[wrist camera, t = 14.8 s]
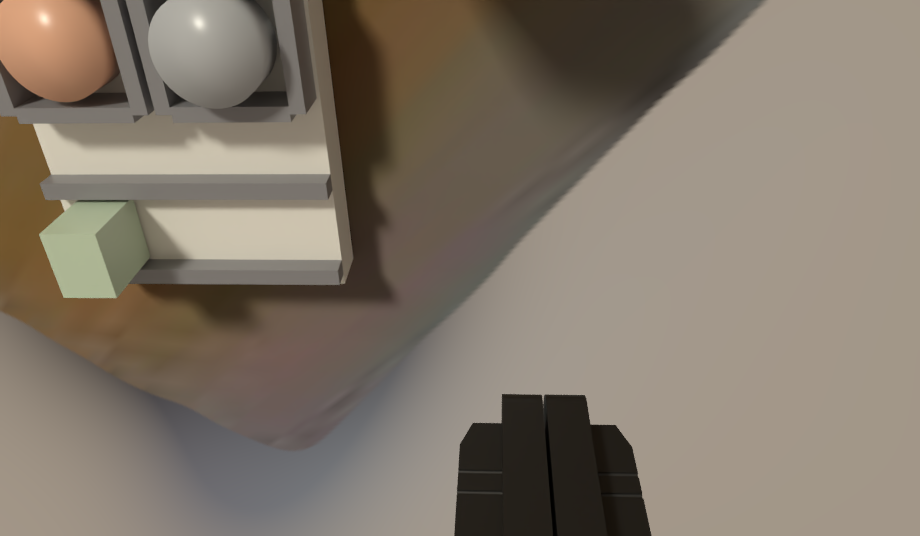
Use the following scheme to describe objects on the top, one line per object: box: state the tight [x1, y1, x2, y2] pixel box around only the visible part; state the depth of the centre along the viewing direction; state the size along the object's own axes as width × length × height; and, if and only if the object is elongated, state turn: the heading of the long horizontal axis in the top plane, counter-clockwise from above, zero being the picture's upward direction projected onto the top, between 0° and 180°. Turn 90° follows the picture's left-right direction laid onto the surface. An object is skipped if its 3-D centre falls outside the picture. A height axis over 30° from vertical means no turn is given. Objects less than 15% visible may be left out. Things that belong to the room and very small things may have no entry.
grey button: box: [148, 0, 277, 109], centre depth 33 cm, size 5×5×2 cm
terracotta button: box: [0, 0, 120, 102], centre depth 34 cm, size 5×5×2 cm
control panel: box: [0, 0, 353, 285], centre depth 38 cm, size 20×16×5 cm
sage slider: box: [39, 200, 150, 298], centre depth 39 cm, size 4×3×4 cm
